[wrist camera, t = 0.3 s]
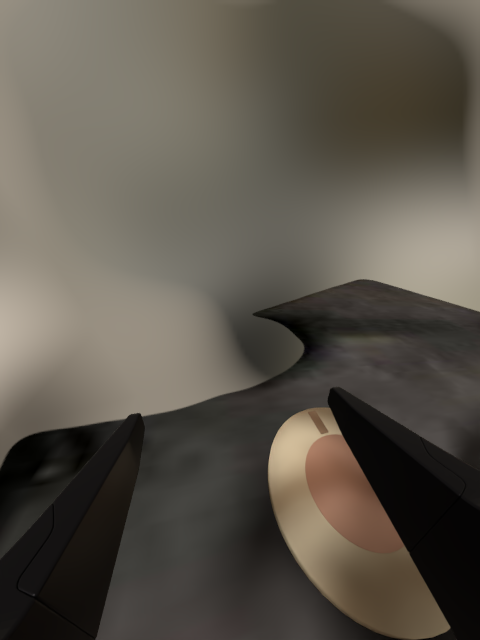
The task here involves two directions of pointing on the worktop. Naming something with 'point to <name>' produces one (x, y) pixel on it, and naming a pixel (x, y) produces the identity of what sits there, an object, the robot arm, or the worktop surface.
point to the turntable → (345, 531)
